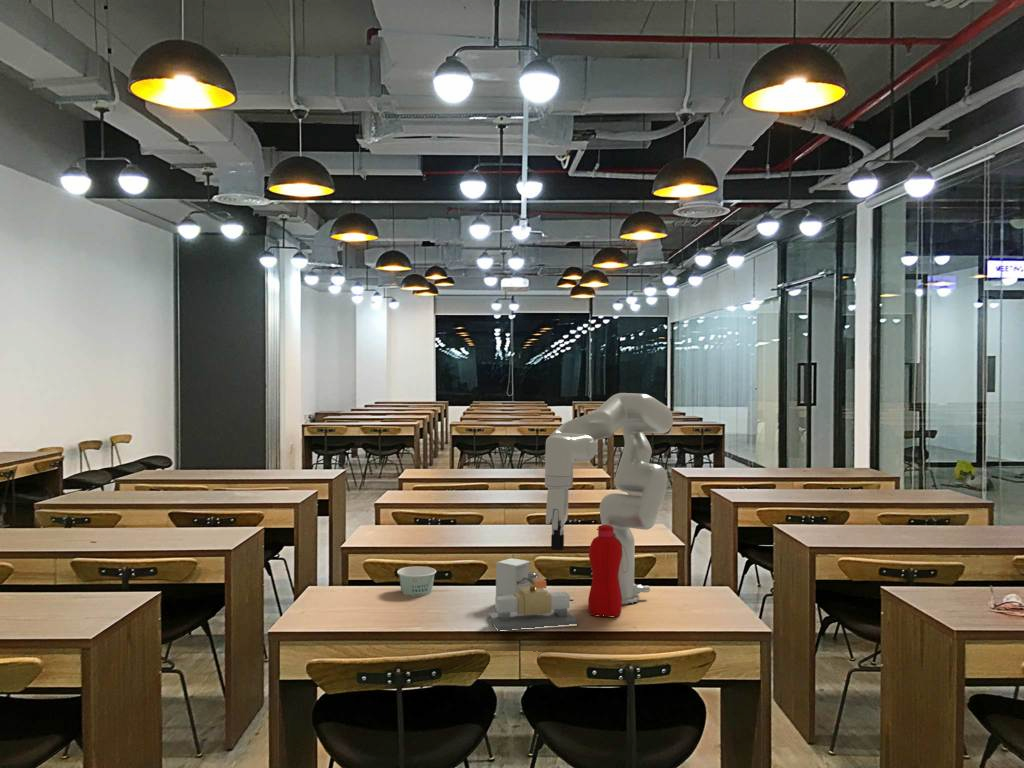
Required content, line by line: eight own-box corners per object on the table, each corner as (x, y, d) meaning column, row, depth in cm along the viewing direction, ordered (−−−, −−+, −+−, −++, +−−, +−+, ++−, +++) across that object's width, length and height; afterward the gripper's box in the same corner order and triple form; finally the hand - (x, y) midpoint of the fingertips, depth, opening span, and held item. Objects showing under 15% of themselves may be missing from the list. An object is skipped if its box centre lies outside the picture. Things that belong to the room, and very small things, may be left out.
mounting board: (564, 613, 247) (564, 608, 247) (577, 626, 235) (577, 620, 235) (488, 618, 242) (488, 613, 241) (498, 631, 230) (498, 626, 230)
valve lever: (526, 579, 239) (526, 572, 239) (536, 578, 240) (536, 572, 240) (536, 588, 229) (536, 581, 229) (546, 588, 230) (546, 581, 230)
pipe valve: (564, 611, 244) (564, 576, 243) (570, 617, 238) (571, 581, 238) (494, 615, 239) (494, 580, 238) (499, 622, 233) (499, 586, 233)
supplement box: (515, 609, 250) (515, 565, 250) (494, 604, 255) (495, 561, 254) (530, 603, 256) (530, 560, 256) (510, 599, 261) (510, 557, 260)
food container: (405, 599, 260) (405, 577, 260) (391, 589, 270) (391, 568, 270) (442, 594, 266) (442, 572, 265) (426, 585, 276) (427, 564, 276)
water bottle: (626, 619, 241) (627, 529, 240) (586, 617, 243) (587, 528, 243) (628, 610, 250) (629, 523, 250) (590, 607, 253) (591, 521, 252)
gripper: (549, 477, 244) (547, 543, 244) (540, 484, 229) (539, 554, 229) (575, 478, 242) (574, 544, 243) (569, 485, 228) (567, 556, 228)
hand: (557, 549), depth 236 cm, fingers closed
